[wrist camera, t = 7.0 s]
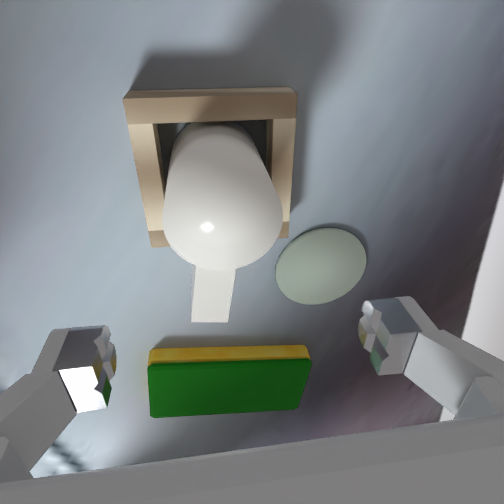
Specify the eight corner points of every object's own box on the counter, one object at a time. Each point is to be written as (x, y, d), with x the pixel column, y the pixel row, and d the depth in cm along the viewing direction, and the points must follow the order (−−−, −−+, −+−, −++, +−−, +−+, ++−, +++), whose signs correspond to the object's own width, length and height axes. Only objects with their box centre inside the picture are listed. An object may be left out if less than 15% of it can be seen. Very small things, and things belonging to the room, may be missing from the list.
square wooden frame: (281, 222, 24) (288, 237, 23) (154, 231, 24) (151, 247, 22) (288, 86, 20) (297, 93, 18) (128, 91, 19) (122, 98, 17)
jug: (172, 111, 20) (163, 158, 13) (264, 122, 21) (294, 170, 14) (167, 250, 25) (160, 331, 18) (241, 254, 26) (257, 331, 19)
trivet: (356, 297, 30) (358, 300, 29) (273, 305, 29) (274, 308, 28) (372, 224, 26) (374, 227, 25) (277, 231, 25) (278, 234, 25)
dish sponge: (150, 344, 30) (147, 368, 28) (306, 340, 33) (313, 362, 31) (152, 395, 34) (150, 419, 32) (291, 388, 36) (297, 410, 34)
